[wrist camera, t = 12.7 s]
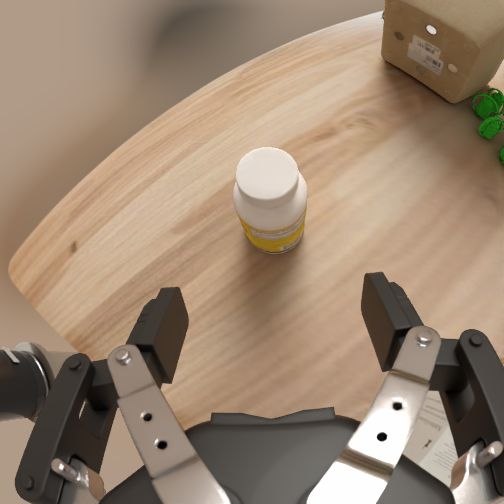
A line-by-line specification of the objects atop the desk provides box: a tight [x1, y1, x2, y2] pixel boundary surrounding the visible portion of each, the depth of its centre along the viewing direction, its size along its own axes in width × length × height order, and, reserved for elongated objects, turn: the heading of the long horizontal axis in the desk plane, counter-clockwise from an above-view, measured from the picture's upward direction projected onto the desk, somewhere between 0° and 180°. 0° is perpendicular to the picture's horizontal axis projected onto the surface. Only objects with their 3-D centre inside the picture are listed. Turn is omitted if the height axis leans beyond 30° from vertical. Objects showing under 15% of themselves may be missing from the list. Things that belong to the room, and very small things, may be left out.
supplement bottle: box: [233, 147, 308, 254], centre depth 22 cm, size 5×5×10 cm
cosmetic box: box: [402, 391, 458, 487], centre depth 16 cm, size 8×6×15 cm
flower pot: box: [381, 0, 504, 103], centre depth 23 cm, size 19×19×17 cm
